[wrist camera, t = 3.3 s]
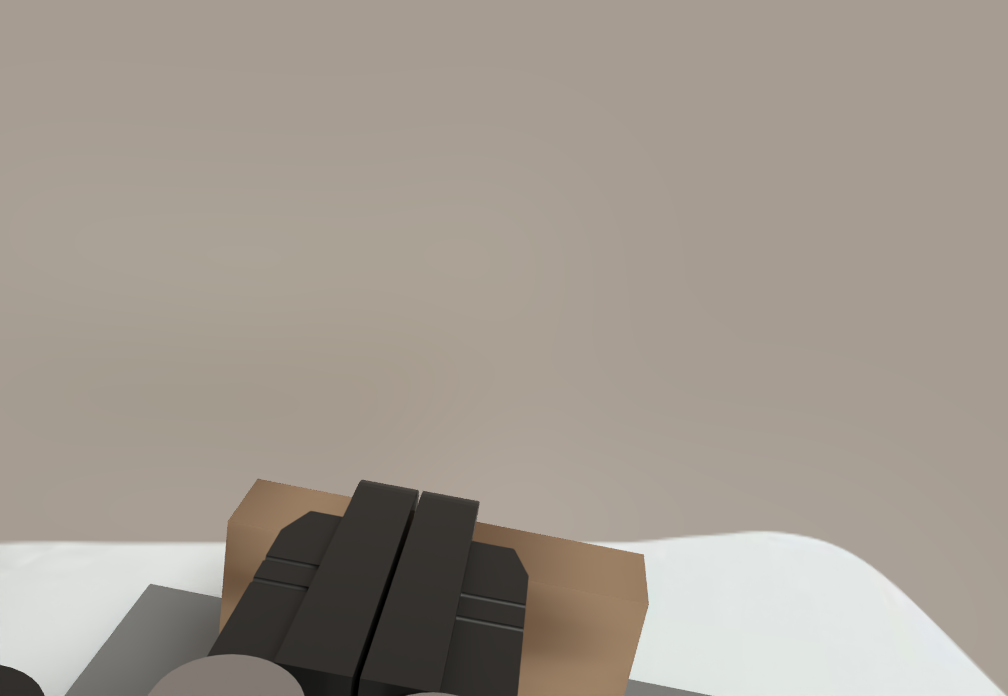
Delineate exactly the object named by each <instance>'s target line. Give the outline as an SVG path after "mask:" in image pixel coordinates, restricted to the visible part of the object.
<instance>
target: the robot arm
mask: <svg viewBox="0 0 1008 696" xmlns="http://www.w3.org/2000/svg"><path fill="white" fill-rule="evenodd" d="M418 497H419V491H418V490H414V489H409V488H404V487H398V486H393V485H387V484H382V483H377V482H371V481H366V480H361V481H360V482H359V484H358V486H357V488H356V490H355V493H354V495H353V497H352V499H351V501H350V503H349V505H348V507H347V509H346V511H345V513H344V516H343V517H342V516H336V515H331V514H326V513H320V512H315V511H309V512H308V513H306V514H305V515H303V516H301V517H300V518H298V519H297V520H295V521H294V522H292V523H290V524H289V525H287V526H286V527H284V528H283V529H281V530H280V532H279V534H278V536H277V537H276V539H275V541H274V542H273V544H272V546H271V547H270V549H269V551H268V553H267V554H266V558H265V560H263V561H262V563H261V565H260V566H259V568H258V570H257V571H256V573H255V575H254V577H253V581H252V582H250V583H249V585H248V587H247V588H246V590H245V592H244V594H243V595H242V597H241V599H240V600H239V602H238V604H237V606H236V607H235V609H234V611H233V612H232V614H231V616H230V617H229V619H228V621H227V623H226V624H225V626H224V628H223V629H222V631H221V633H220V635H219V636H218V638H217V640H216V641H215V643H214V645H213V647H212V648H211V650H210V652H209V653H208V655H207V657H204V658H201V659H197V660H194V661H191V662H189V663H186V664H184V665H181V666H180V667H178V668H176V669H174V670H173V671H171V672H170V673H168V674H167V675H166V676H164V677H163V678H162V679H161V680H160V681H159V682H158V683H157V684H156V685H155V686H154V687H153V689H152V690H151V691H150V693H149V694H148V695H147V696H518V686H519V676H520V665H521V654H522V643H523V630H524V622H525V611H526V610H525V608H526V601H527V590H528V579H529V575H528V574H527V572H526V570H525V568H524V566H523V564H522V562H521V561H520V559H519V557H518V555H517V553H516V551H515V549H513V548H507V547H502V546H497V545H491V544H486V543H481V542H475V541H473V537H474V531H475V526H476V520H477V515H478V508H479V501H474V500H469V499H463V498H458V497H453V496H447V495H442V494H437V493H431V492H426V491H423V493H422V495H421V497H420V500H419V503H418ZM0 696H44V693H43V691H42V690H41V688H40V686H39V685H38V684H37V683H36V682H35V681H34V680H33V679H32V678H31V677H29V676H28V675H26V674H25V673H23V672H21V671H18V670H16V669H13V668H11V667H6V666H2V665H0Z"/></svg>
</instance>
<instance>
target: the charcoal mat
mask: <svg viewBox="0 0 1008 696" xmlns="http://www.w3.org/2000/svg"><path fill="white" fill-rule="evenodd" d="M221 602H222V598H218V597H213V596H208V595H203V594H198V593H193V592H188V591H183V590H178V589H173V588H168V587H163V586H158V585H153V584H150V585H149V586H148V587H147V589H146V590H145V591H144V592H143V594H142V595H141V596H140V598H139V599H138V600H137V602H136V603H135V604H134V606H133V607H132V608H131V609H130V611H129V612H128V613H127V615H126V616H125V617H124V619H123V620H122V621H121V623H120V624H119V625H118V626H117V628H116V629H115V630H114V632H113V633H112V634H111V636H110V637H109V638H108V640H107V641H106V642H105V643H104V645H103V646H102V647H101V649H100V650H99V651H98V653H97V654H96V655H95V657H94V658H93V659H92V660H91V662H90V663H89V664H88V666H87V667H86V668H85V670H84V671H83V672H82V674H81V675H80V676H79V677H78V679H77V680H76V681H75V683H74V684H73V685H72V687H71V688H70V689H69V691H68V692H67V693H66V694H65V696H147V695H148V694H149V693H150V691H151V690H152V689H153V687H154V686H155V685H156V684H157V683H158V682H159V681H160V680H161V679H162V678H163V677H164V676H166V675H167V674H168V673H170V672H171V671H173V670H174V669H176V668H178V667H180V666H181V665H184V664H186V663H189V662H191V661H194V660H197V659H201V658H204V657H207V655H208V653H209V652H210V650H211V648H212V647H213V645H214V643H215V641H216V640H217V638H218V636H219V627H220V615H221ZM624 696H710V695H705V694H700V693H695V692H690V691H685V690H680V689H675V688H670V687H665V686H660V685H655V684H650V683H645V682H640V681H635V680H630V679H628V683H627V686H626V690H625V694H624Z"/></svg>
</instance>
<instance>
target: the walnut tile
mask: <svg viewBox="0 0 1008 696" xmlns="http://www.w3.org/2000/svg"><path fill="white" fill-rule="evenodd" d="M351 499H352V497H347V496H342V495H337V494H331V493H327V492H321V491H317V490H312V489H307V488H302V487H296V486H291V485H286V484H281V483H276V482H271V481H266V480H261V479H257V481H256V482H255V484H254V485H253V486H252V488H251V489H250V491H249V492H248V493H247V495H246V496H245V498H244V499H243V501H242V502H241V504H240V505H239V506H238V508H237V509H236V510H235V512H234V513H233V515H232V516H231V518H230V519H229V520H228V527H227V540H226V552H225V565H224V577H223V590H222V602H221V615H220V627H219V635H220V633H221V631H222V629H223V628H224V626H225V624H226V623H227V621H228V619H229V617H230V616H231V614H232V612H233V611H234V609H235V607H236V606H237V604H238V602H239V600H240V599H241V597H242V595H243V594H244V592H245V590H246V588H247V587H248V585H249V583H250V582H252V581H253V577H254V575H255V573H256V571H257V570H258V568H259V566H260V565H261V563H262V561H263V560H265V558H266V554H267V553H268V551H269V549H270V547H271V546H272V544H273V542H274V541H275V539H276V537H277V536H278V534H279V532H280V530H281V529H283V528H284V527H286V526H287V525H289V524H290V523H292V522H294V521H295V520H297V519H298V518H300V517H301V516H303V515H305V514H306V513H308V512H309V511H315V512H320V513H326V514H331V515H336V516H342V517H343V516H344V513H345V511H346V509H347V507H348V505H349V503H350V501H351ZM473 541H475V542H481V543H486V544H491V545H497V546H502V547H507V548H513V549H515V551H516V553H517V555H518V557H519V559H520V561H521V562H522V564H523V566H524V568H525V570H526V572H527V574H528V575H529V579H528V590H527V601H526V608H525V610H526V611H525V622H524V630H523V643H522V654H521V665H520V676H519V686H518V696H624V694H625V690H626V686H627V683H628V679H629V675H630V672H631V668H632V664H633V661H634V657H635V653H636V649H637V646H638V642H639V638H640V635H641V631H642V627H643V624H644V620H645V616H646V612H647V609H648V605H649V602H648V592H647V582H646V572H645V563H644V555H643V554H638V553H633V552H627V551H622V550H617V549H612V548H607V547H602V546H597V545H592V544H587V543H582V542H577V541H571V540H566V539H561V538H556V537H551V536H546V535H541V534H536V533H530V532H525V531H520V530H515V529H510V528H505V527H500V526H495V525H490V524H485V523H480V522H476V526H475V531H474V537H473Z"/></svg>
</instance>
